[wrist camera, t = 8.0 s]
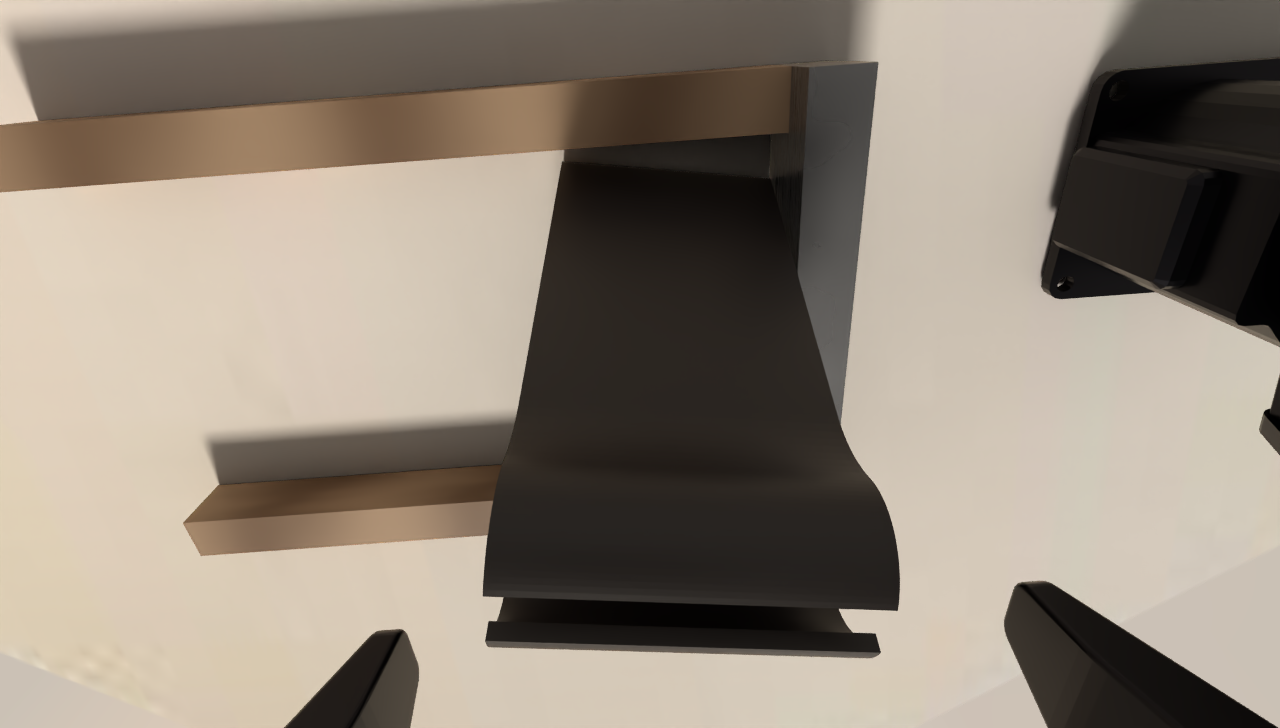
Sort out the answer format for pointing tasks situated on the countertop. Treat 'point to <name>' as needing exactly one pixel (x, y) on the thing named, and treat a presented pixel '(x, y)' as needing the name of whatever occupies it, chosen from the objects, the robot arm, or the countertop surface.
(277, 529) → the guide track
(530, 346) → the phone stand
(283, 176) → the countertop surface
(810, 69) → the end stop
